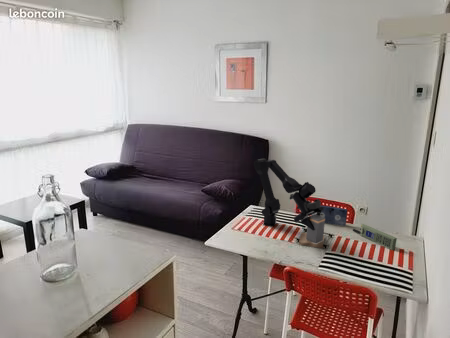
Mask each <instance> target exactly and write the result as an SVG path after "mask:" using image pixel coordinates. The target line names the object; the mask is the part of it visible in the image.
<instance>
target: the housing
mask: <svg viewBox="0 0 450 338" xmlns="http://www.w3.org/2000/svg"><path fill="white" fill-rule="evenodd" d="M310 221H311V223H312V224H313V226H314V229H315V230H314V231H313V230H312V229H310V228H309V227H307V226H306V233H307V235H306V239H307V240H309V241H311V242H314V243H318V242H320V241H322V240H323V235H324V230H325V224H326V223H325V218H324V217H322V216H319V215H316V214H314V215H310Z"/></svg>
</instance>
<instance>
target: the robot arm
mask: <svg viewBox="0 0 450 338" xmlns="http://www.w3.org/2000/svg"><path fill="white" fill-rule="evenodd" d="M253 168H254V170H255V172H256V173H257V174H258V175H259V179H260V181H261V182H260V183H261V185H262V190H263V194H264V197H265V200H264V208H263V209H262V210H261V215H262V216H263V223H262V225H263V226H269V227H275V225H276V224H277V216H276V215H277V214H278V213H279V211H280V210H281V203H280V199H278V198H276V197H275V194H274V191H273V188H272V184H271V183H272V182H271V180H270V177H269V173H268V172H269V169H270V170H271V171H272V173H273V174H274V175H275V176H276V177H277V178H278V180H279V181H280V182H281V183H282V187H283V189H284V191H285V192H286V193H288V194H290V195H289V200H292V199H293V201H294V202H295V204H296V206H297V207H296V210H299V211H300V213H299V214H297V215H296V216H294V218H293V221H294V222H295V223H300V224H302V225H304V226H306V228H307V227H309V228H310V229H312V230H313V231H314V230H315V229H314V226H313V224H312V223H311V221H310V216H312V215H314V214H316V215H319V216H320V214H321V211H323V210H324V209H323V207H322V206H323V205H322V206H320V205H321V204H322V202H321V200H320V199H319V198H316V199H314V201H312V202H311V201H310V200H307V199H308V198H310V197H311V196H313V195H314V194H315V193H316V190H317V189H316V187H315V186H314V185H313V184H311V183H309V182H308V181H305V182H304V183H303V184H301V183H299V182H298V181H297V180H296V179H295V178H293V177H290V176H289V175H288V174H287V172H285V170H284V169H283V168H282V167H281V166H280V164H279V163H278V162H277V160H275V159H266V158H260V159H255V160H254V161H253Z"/></svg>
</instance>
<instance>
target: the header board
mask: <svg viewBox="0 0 450 338" xmlns="http://www.w3.org/2000/svg"><path fill="white" fill-rule="evenodd" d="M306 235H307V232H301V234H300V237H299V241H298V245H299V246H305V245H306V247H313V248H320V249H324V242H325V235H324V234H323V240H322V241H320V242H318V243H314V242H311V241H309V240H307V239H306Z"/></svg>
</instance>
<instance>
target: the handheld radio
mask: <svg viewBox="0 0 450 338" xmlns="http://www.w3.org/2000/svg"><path fill="white" fill-rule="evenodd" d="M360 227H361V228H360V229H359V230H358V229H356V228H352V231H353V232H354V233H357V234H360V237H362V238H365V239H366V240H369V241H372V242H374V243H376V244H378V245H380V246H382V247H384V248H387V249H389V250H391V251H394V250H396V245H397V240H398V238H397V237H396V236H393V235H390V234H388V233H387V232H384V231H382V230H379V229H377V228H374V227H372V226H370V225H367V224H365V223H360Z"/></svg>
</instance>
